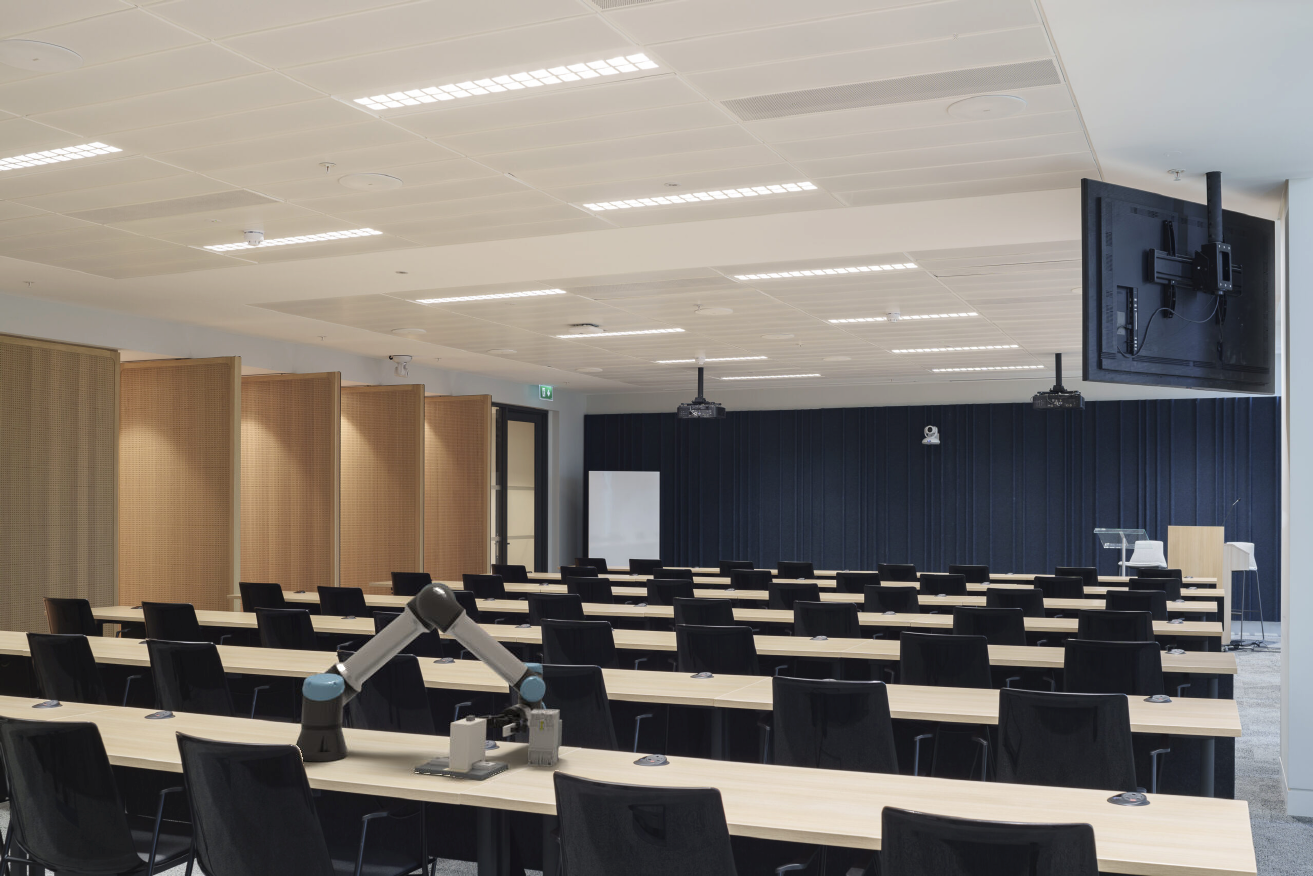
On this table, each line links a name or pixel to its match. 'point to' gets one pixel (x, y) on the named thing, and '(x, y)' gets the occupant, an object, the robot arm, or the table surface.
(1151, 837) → the table surface
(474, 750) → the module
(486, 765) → the panel
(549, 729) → the circuit breaker
